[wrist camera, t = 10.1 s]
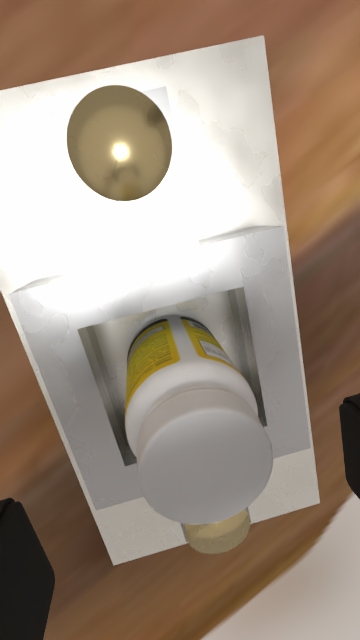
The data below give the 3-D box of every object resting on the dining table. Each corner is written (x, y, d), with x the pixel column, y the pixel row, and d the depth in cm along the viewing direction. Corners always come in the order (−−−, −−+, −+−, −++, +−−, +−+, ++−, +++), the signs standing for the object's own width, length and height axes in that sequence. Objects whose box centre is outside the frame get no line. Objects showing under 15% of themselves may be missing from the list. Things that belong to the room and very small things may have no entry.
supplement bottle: (129, 398, 18) (124, 545, 10) (125, 314, 16) (116, 402, 8) (215, 393, 18) (279, 527, 10) (219, 311, 17) (296, 391, 9)
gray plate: (312, 491, 22) (350, 548, 18) (114, 550, 22) (110, 624, 18) (255, 47, 15) (300, -19, 11) (-61, 114, 14) (-141, 69, 10)
